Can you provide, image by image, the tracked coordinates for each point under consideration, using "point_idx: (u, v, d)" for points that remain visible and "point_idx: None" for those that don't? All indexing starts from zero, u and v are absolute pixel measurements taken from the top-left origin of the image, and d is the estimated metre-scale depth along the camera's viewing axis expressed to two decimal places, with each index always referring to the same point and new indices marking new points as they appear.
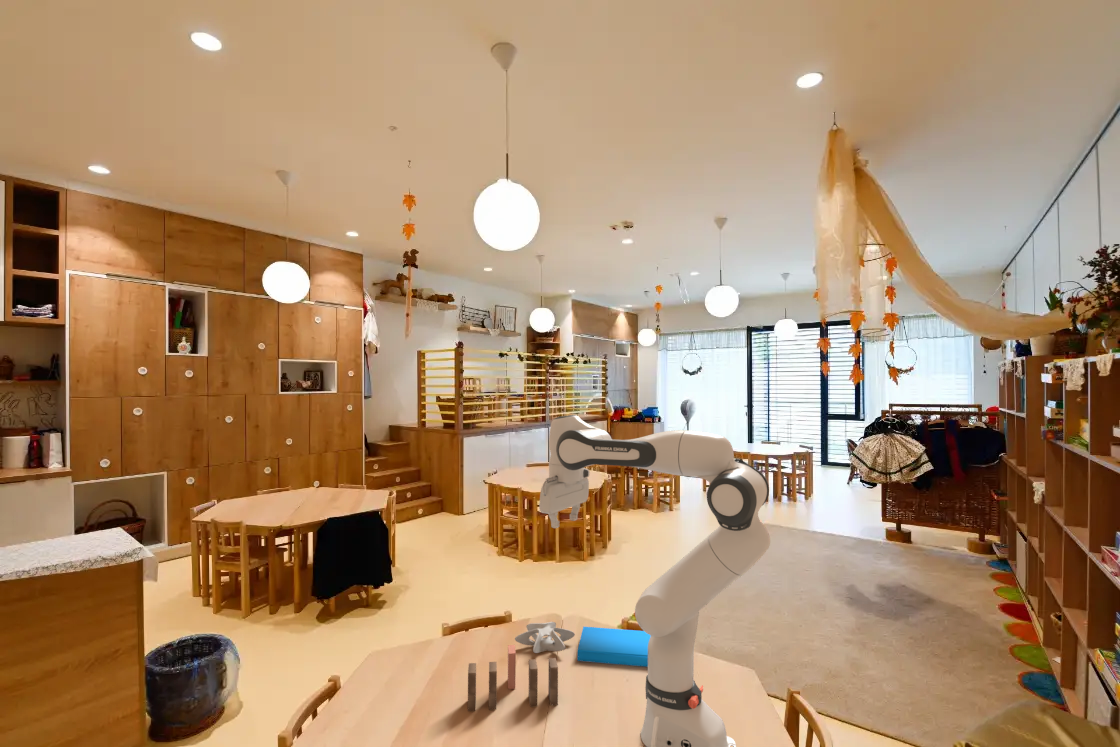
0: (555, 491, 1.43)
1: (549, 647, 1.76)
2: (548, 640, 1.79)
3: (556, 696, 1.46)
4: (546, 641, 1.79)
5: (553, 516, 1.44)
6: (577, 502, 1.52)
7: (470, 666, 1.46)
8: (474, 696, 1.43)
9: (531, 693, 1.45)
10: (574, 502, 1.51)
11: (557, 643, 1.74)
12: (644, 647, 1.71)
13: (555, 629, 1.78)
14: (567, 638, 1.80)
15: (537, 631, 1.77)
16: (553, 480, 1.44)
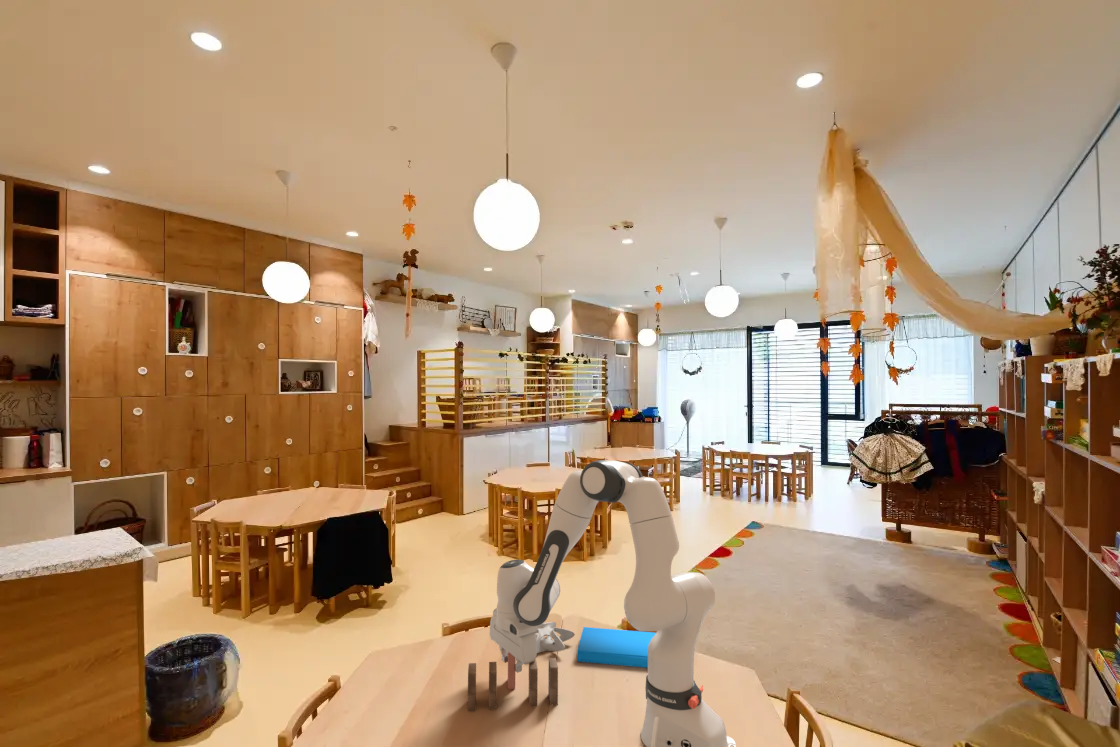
0: (493, 622, 1.61)
1: (549, 647, 1.76)
2: (548, 640, 1.79)
3: (556, 696, 1.46)
4: (546, 641, 1.79)
5: None
6: (513, 654, 1.52)
7: (470, 666, 1.46)
8: (474, 696, 1.43)
9: (531, 693, 1.45)
10: (510, 651, 1.53)
11: (557, 643, 1.74)
12: (644, 648, 1.70)
13: (555, 629, 1.78)
14: (567, 638, 1.80)
15: (537, 631, 1.77)
16: None
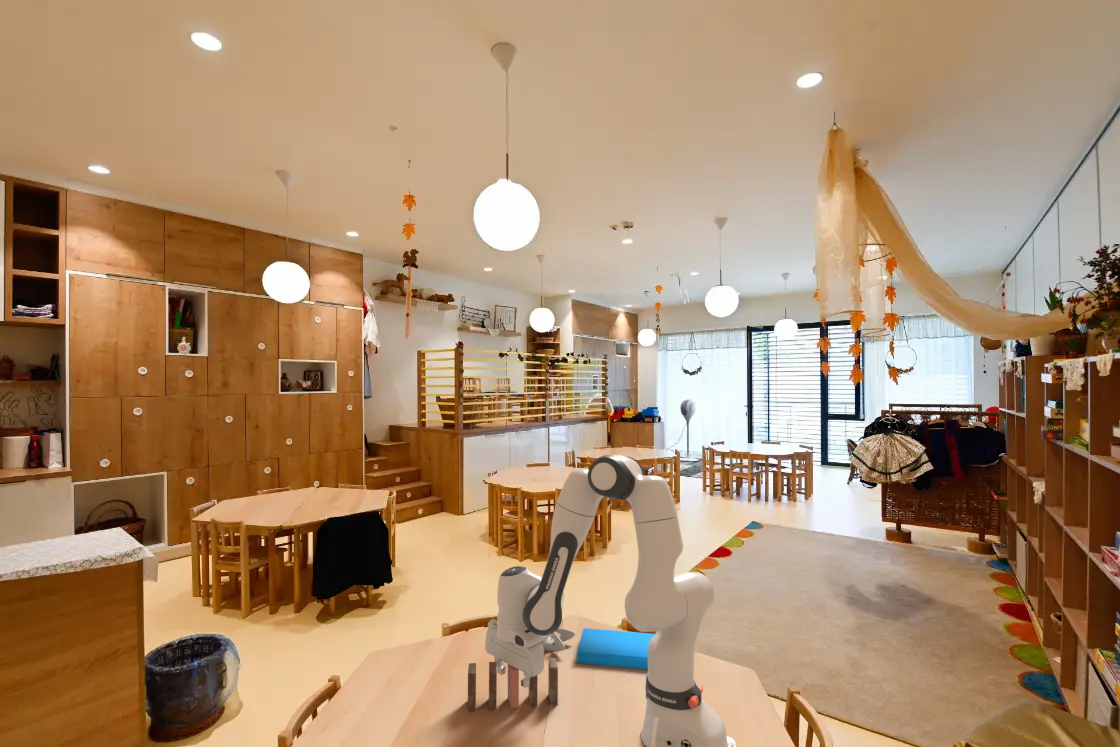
0: (490, 634, 1.51)
1: (549, 647, 1.76)
2: (548, 640, 1.79)
3: (556, 696, 1.46)
4: (546, 641, 1.79)
5: None
6: (517, 667, 1.43)
7: (470, 666, 1.46)
8: (474, 696, 1.43)
9: (531, 693, 1.45)
10: (514, 663, 1.44)
11: (557, 643, 1.74)
12: (644, 649, 1.69)
13: None
14: (567, 638, 1.80)
15: None
16: (496, 625, 1.51)
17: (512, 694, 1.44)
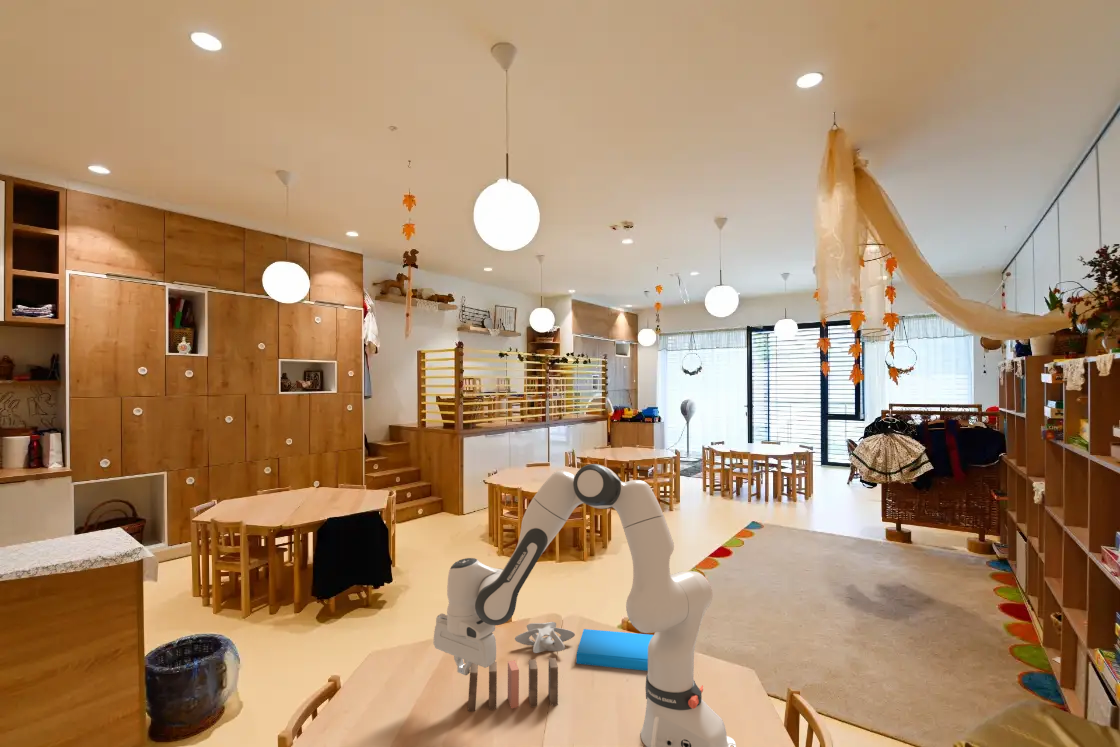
0: (439, 629, 1.48)
1: (549, 647, 1.76)
2: (548, 640, 1.79)
3: (556, 696, 1.46)
4: (546, 641, 1.79)
5: None
6: (469, 659, 1.41)
7: (472, 666, 1.46)
8: (475, 696, 1.43)
9: (531, 693, 1.45)
10: (465, 656, 1.42)
11: (557, 643, 1.74)
12: (644, 651, 1.68)
13: (555, 629, 1.78)
14: (567, 638, 1.80)
15: (537, 631, 1.77)
16: (445, 619, 1.49)
17: (512, 694, 1.44)
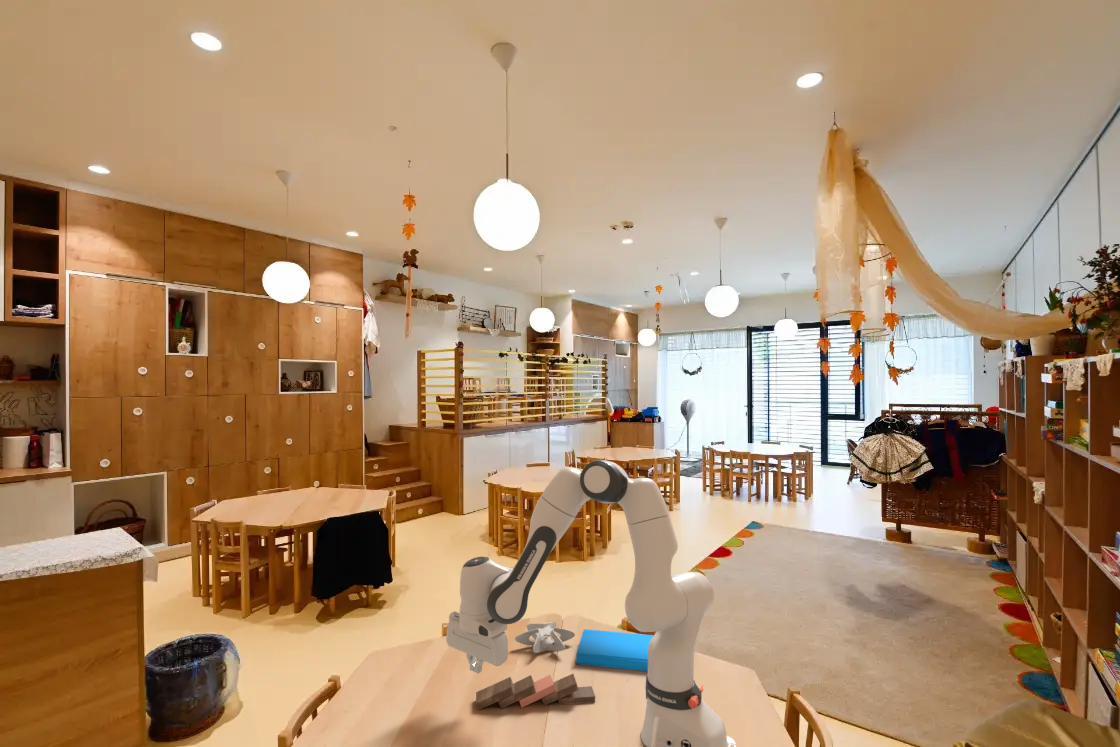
0: (451, 627, 1.49)
1: (549, 647, 1.76)
2: (548, 640, 1.79)
3: None
4: (546, 641, 1.79)
5: None
6: (481, 657, 1.42)
7: (511, 681, 1.48)
8: (491, 703, 1.44)
9: (554, 694, 1.46)
10: (477, 654, 1.43)
11: (557, 643, 1.74)
12: (644, 651, 1.68)
13: (555, 629, 1.78)
14: (567, 638, 1.80)
15: (537, 631, 1.77)
16: (458, 617, 1.49)
17: (532, 695, 1.45)
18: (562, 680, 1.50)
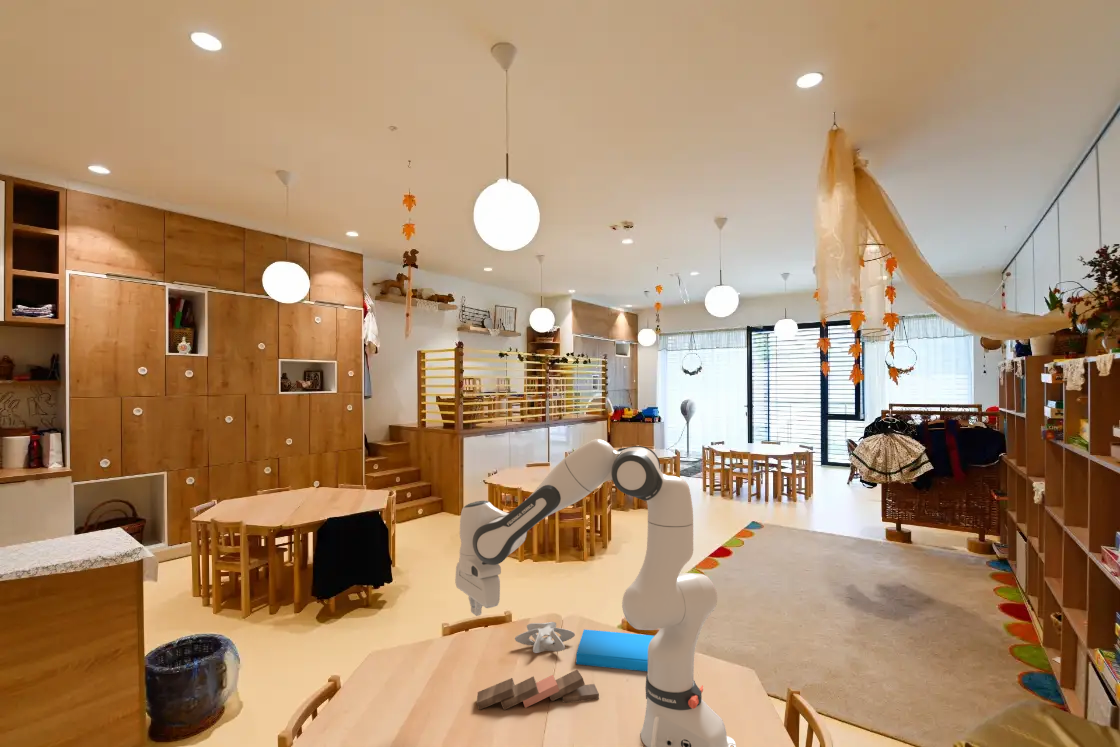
0: (458, 569, 1.51)
1: (549, 647, 1.76)
2: (548, 640, 1.79)
3: None
4: (546, 641, 1.79)
5: None
6: (476, 599, 1.42)
7: (512, 683, 1.47)
8: (492, 703, 1.44)
9: (561, 690, 1.48)
10: (473, 596, 1.43)
11: (557, 643, 1.74)
12: (644, 651, 1.68)
13: (555, 629, 1.78)
14: (567, 638, 1.80)
15: (537, 631, 1.77)
16: None
17: (535, 695, 1.45)
18: (567, 676, 1.52)
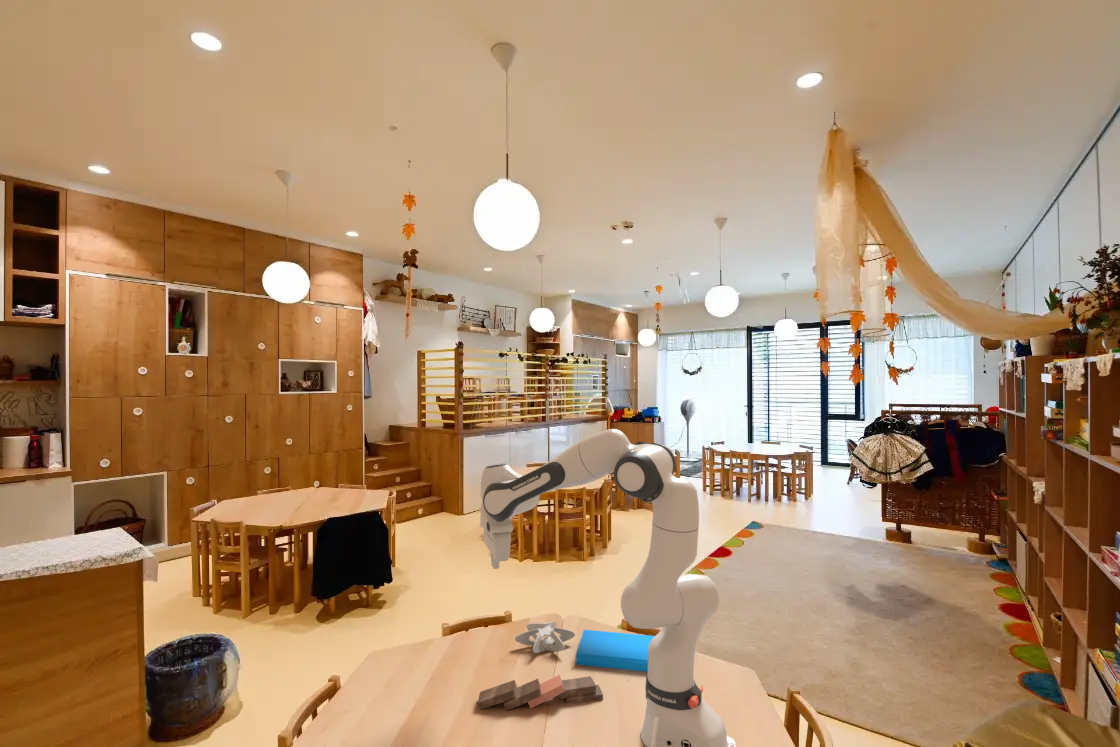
0: None
1: (549, 647, 1.76)
2: (548, 640, 1.79)
3: None
4: (546, 641, 1.79)
5: None
6: (491, 553, 1.53)
7: (514, 685, 1.47)
8: (493, 704, 1.44)
9: (573, 690, 1.48)
10: (490, 550, 1.55)
11: (556, 643, 1.74)
12: (644, 652, 1.68)
13: (555, 629, 1.78)
14: (567, 638, 1.80)
15: (537, 631, 1.77)
16: None
17: (540, 696, 1.45)
18: (580, 679, 1.52)
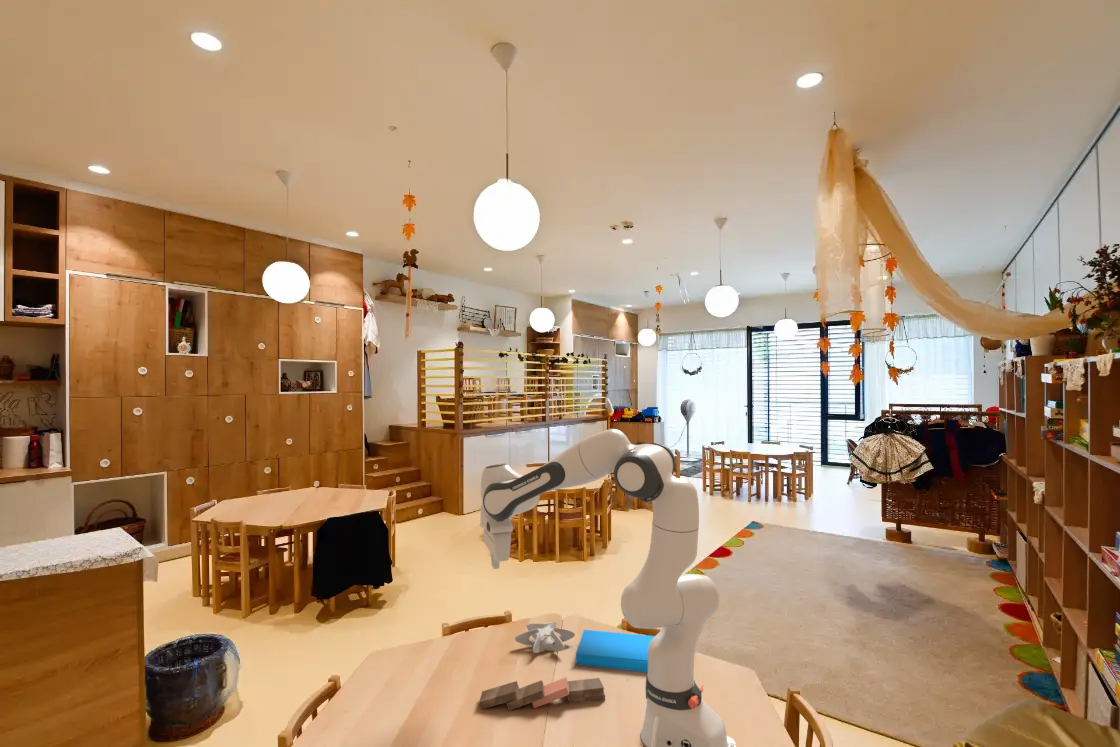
0: None
1: (549, 647, 1.76)
2: (548, 640, 1.79)
3: None
4: (546, 641, 1.79)
5: None
6: (491, 553, 1.53)
7: (516, 686, 1.47)
8: (494, 704, 1.44)
9: (580, 691, 1.47)
10: (490, 550, 1.55)
11: (556, 643, 1.74)
12: (644, 652, 1.68)
13: (555, 629, 1.78)
14: (567, 638, 1.80)
15: (537, 631, 1.77)
16: None
17: None
18: (588, 681, 1.51)
